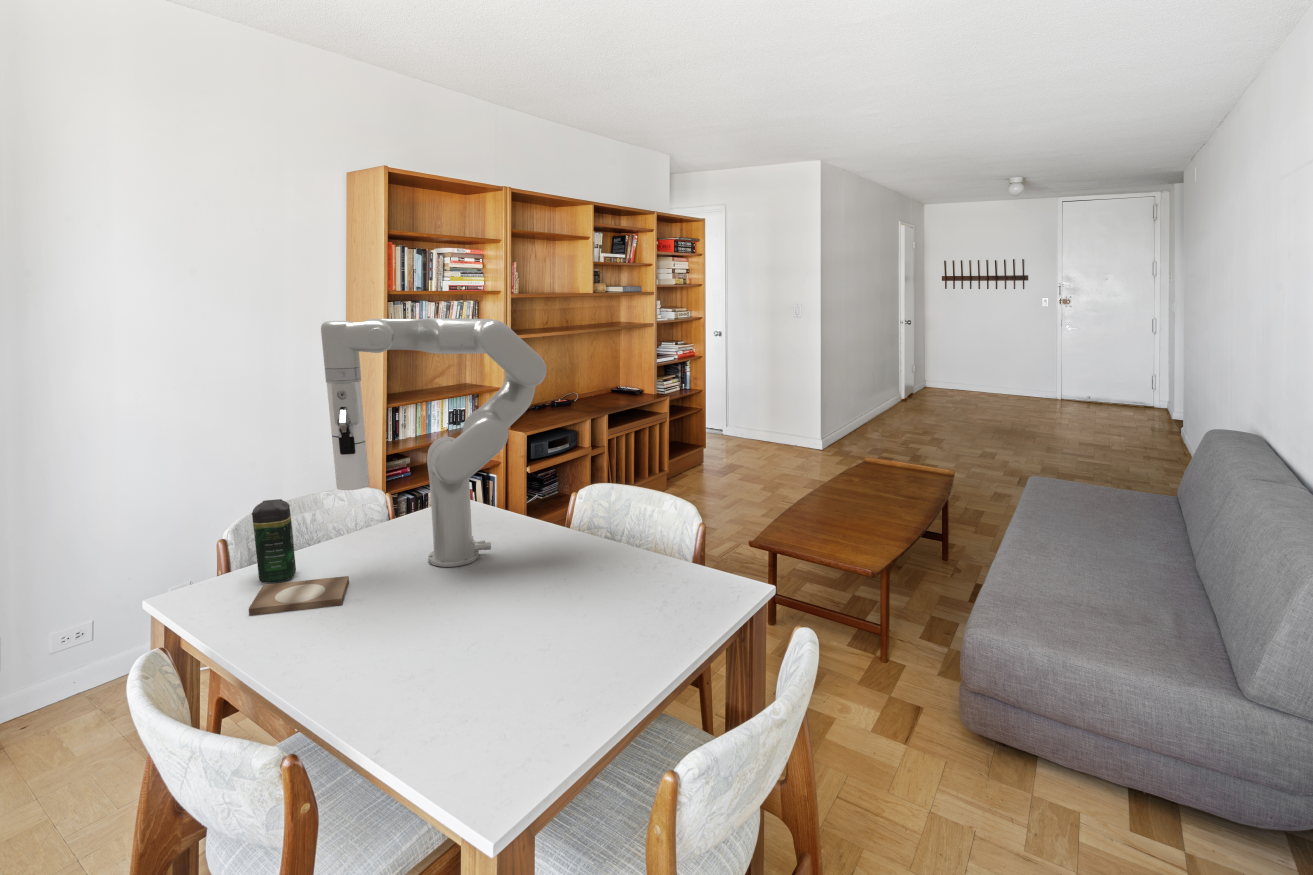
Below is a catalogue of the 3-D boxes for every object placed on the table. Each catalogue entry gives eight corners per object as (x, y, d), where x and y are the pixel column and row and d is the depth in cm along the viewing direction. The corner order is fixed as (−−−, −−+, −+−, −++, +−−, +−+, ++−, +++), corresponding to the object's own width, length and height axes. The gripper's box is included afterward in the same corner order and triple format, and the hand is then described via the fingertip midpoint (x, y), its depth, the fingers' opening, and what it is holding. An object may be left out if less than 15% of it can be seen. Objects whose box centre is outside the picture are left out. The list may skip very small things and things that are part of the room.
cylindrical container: (343, 482, 169) (333, 379, 164) (373, 481, 170) (364, 379, 164) (332, 490, 162) (321, 383, 157) (363, 489, 163) (354, 383, 157)
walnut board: (349, 581, 164) (348, 575, 164) (341, 604, 152) (341, 598, 152) (263, 590, 159) (263, 584, 159) (249, 615, 147) (248, 608, 147)
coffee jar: (295, 581, 165) (287, 506, 161) (257, 586, 162) (248, 510, 158) (298, 567, 173) (290, 495, 170) (262, 571, 170) (253, 498, 166)
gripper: (356, 379, 153) (363, 457, 157) (364, 370, 170) (370, 442, 173) (319, 380, 151) (326, 459, 155) (331, 371, 167) (337, 443, 171)
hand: (349, 449), depth 164 cm, fingers closed on cylindrical container, 7 cm apart
